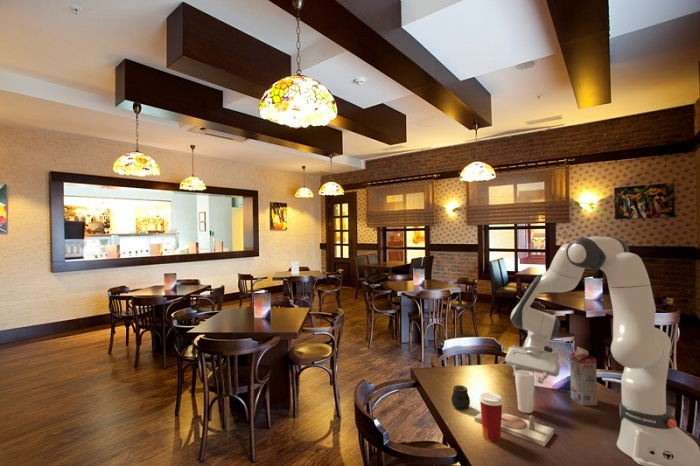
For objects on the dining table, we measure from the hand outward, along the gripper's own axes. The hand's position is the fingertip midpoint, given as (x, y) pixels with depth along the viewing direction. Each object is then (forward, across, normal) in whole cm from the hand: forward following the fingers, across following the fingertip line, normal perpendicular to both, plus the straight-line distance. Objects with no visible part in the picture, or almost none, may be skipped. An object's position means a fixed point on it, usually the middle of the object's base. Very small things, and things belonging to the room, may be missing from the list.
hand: (527, 379), depth 145 cm
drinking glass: (+11, 0, +6) cm, 12 cm away
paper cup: (+30, -2, -14) cm, 34 cm away
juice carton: (-7, +15, +24) cm, 29 cm away
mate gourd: (+21, -20, -5) cm, 30 cm away
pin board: (+22, +1, -6) cm, 22 cm away
